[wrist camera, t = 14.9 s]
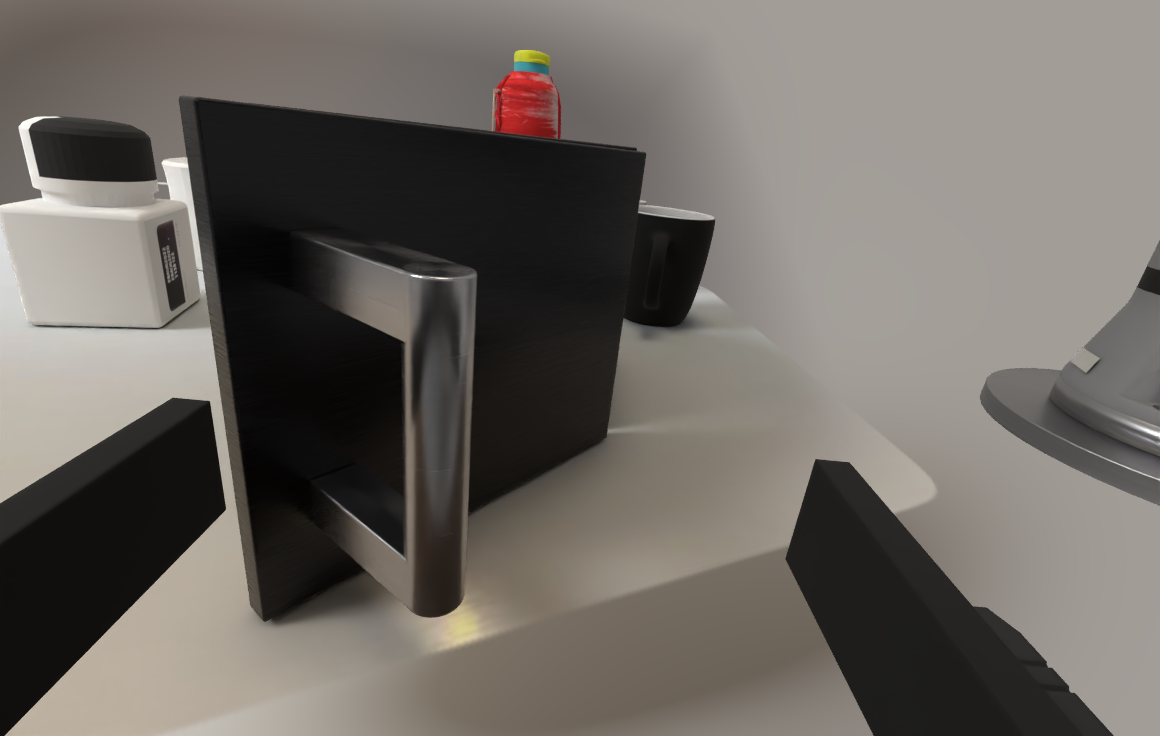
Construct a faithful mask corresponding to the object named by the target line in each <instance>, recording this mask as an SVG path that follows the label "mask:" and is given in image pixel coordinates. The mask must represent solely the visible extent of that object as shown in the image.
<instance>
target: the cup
mask: <svg viewBox="0 0 1160 736" xmlns="http://www.w3.org/2000/svg"><path fill="white" fill-rule="evenodd" d="M162 166H163V168H164V171H165V174H166V179H167V183H168V187H169V193H170V200H176V201H182V202H184V203H185V204H186V205H187V207H188V213H189V220H190V227H191V234H192V240H193V247H194V254H195V261H196V268H197V269H198V270H203V267H202V260H201V253H200V246H199V239H198V232H197V224H196V217H195V210H194V203H193V196H192V189H191V182H190V175H189V168H188V161H187V158H171V159H164V161H163V162H162Z"/></svg>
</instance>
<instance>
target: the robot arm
mask: <svg viewBox="0 0 1160 736" xmlns="http://www.w3.org/2000/svg"><path fill="white" fill-rule="evenodd" d="M1050 398H1051V400H1052V401H1053V403H1054V404H1055V405H1056V406H1057V407H1059V408H1060V409H1061V410H1062V411H1064V412H1065V413H1066V414H1068V415H1069V416H1071V417H1072V418H1074V419H1076V420H1078V421H1079V422H1081V423H1083V424H1085V425H1087V426H1088V427H1090V428H1092V429H1094V430H1096V431H1098V432H1100V433H1102V434H1105V435H1107V436H1109V437H1111V438H1113V439H1116V440H1118V441H1120V442H1123V443H1125V444H1127V445H1130V446H1132V447H1135V448H1137V449H1140V450H1142V451H1145V452H1147V453H1150V454H1152V455H1155V456H1158V457H1160V241H1159V243H1158V245H1157V247H1156V249H1155V251H1154V253H1153V255H1152V257H1151V259H1150V261H1149V263H1148V265H1147V267H1146V270H1145V272H1144V274H1143V276H1142V278H1141V280H1140V282H1139V284H1138V286H1137V288H1136V290H1135V292H1134V294H1133V296H1132V297H1131V299H1130V300H1129V302H1128V303H1127V304H1126V305H1125V306H1124V307H1123V308H1122V309H1121V310H1120V311H1119V312H1118V313H1117V314H1116V315H1115V316H1114V317H1113V318H1112V319H1111V320H1110V321H1109V322H1108V323H1107V324H1106V325H1105V326H1104V327H1103V328H1102V329H1101V330H1100V331H1099V332H1098V333H1097V334H1096V335H1095V336H1094V337H1093V338H1092V339H1091V340H1090V341H1089V342H1088V343H1087V344H1086V345H1085V346H1084V347H1082V348H1081V349H1080V351H1078V353H1077V354H1076V355H1075V356H1074V357H1073V358H1072V359H1071V360H1070V362H1069V363H1067V364H1066V365H1065V367H1064V368H1063V370H1061V371H1060V372H1059V374H1058V377H1057V379H1056V381H1055V383H1054V385H1053V387H1052V390H1051V392H1050ZM225 510H226V506H225V499H224V493H223V486H222V479H221V473H220V466H219V459H218V453H217V446H216V439H215V432H214V426H213V419H212V412H211V406H210V401H201V400H191V399H181V398H172V399H170V400H168V401H167V402H165V403H164V404H162V405H160V406H159V407H157V408H155V409H154V410H152V411H150V412H149V413H147V414H146V415H144V416H142V417H141V418H139V419H137V420H136V421H134V422H133V423H131V424H129V425H128V426H126V427H124V428H123V429H121V430H119V431H118V432H116V433H115V434H113V435H111V436H110V437H108V438H106V439H105V440H103V441H101V442H100V443H98V444H97V445H95V446H93V447H92V448H90V449H88V450H87V451H85V452H84V453H82V454H80V455H79V456H77V457H75V458H74V459H72V460H70V461H69V462H67V463H66V464H64V465H62V466H61V467H59V468H57V469H56V470H54V471H53V472H51V473H49V474H48V475H46V476H44V477H43V478H41V479H39V480H38V481H36V482H35V483H33V484H31V485H30V486H28V487H26V488H25V489H23V490H21V491H20V492H18V493H17V494H15V495H13V496H12V497H10V498H8V499H7V500H5V501H4V502H2V503H0V736H5V735H6V734H7V733H8V732H9V730H10V729H11V728H12V727H13V726H14V725H15V724H16V723H17V722H18V721H19V720H20V719H21V718H22V717H23V716H24V715H25V714H26V713H27V712H28V711H29V710H30V709H31V708H32V707H33V706H34V705H35V704H36V703H37V702H38V701H39V700H40V699H41V698H42V697H43V696H44V695H45V694H46V693H47V692H48V691H49V690H50V689H51V688H52V687H53V686H54V685H55V684H56V683H57V682H58V681H59V679H60V678H61V677H62V676H63V675H64V674H65V673H66V672H67V671H68V670H69V669H70V668H71V667H72V666H73V665H74V664H75V663H76V662H77V661H78V660H79V659H80V658H81V657H82V656H83V655H84V654H85V653H86V652H87V651H88V650H89V649H90V648H91V647H92V646H93V645H94V644H95V643H96V642H97V641H98V640H99V639H100V638H101V637H102V636H103V635H104V634H105V633H106V632H107V631H108V630H109V628H110V627H111V626H112V625H113V624H114V623H115V622H116V621H117V620H118V619H119V618H120V617H121V616H122V615H123V614H124V613H125V612H126V611H127V610H128V609H129V608H130V607H131V606H132V605H133V604H134V603H135V602H136V601H137V600H138V599H139V598H140V597H141V596H142V595H143V594H144V593H145V592H146V591H147V590H148V589H149V588H150V587H151V586H152V585H153V584H154V583H155V582H156V581H157V580H158V579H159V577H160V576H161V575H162V574H163V573H164V572H165V571H166V570H167V569H168V568H169V567H170V566H171V565H172V564H173V563H174V562H175V561H176V560H177V559H178V558H179V557H180V556H181V555H182V554H183V553H184V552H185V551H186V550H187V549H188V548H189V547H190V546H191V545H192V544H193V543H194V542H195V541H196V540H197V539H198V538H199V537H200V536H201V535H202V534H203V533H204V532H205V531H206V530H207V529H208V528H209V526H210V525H211V524H212V523H213V522H214V521H215V520H216V519H217V518H218V517H219V516H220V515H221V514H222V513H223V512H224V511H225ZM786 561H787V563H788V565H789V567H790V569H791V571H792V573H793V575H794V577H795V579H796V581H797V583H798V585H799V587H800V589H801V591H802V593H803V595H804V597H805V599H806V601H807V603H808V605H809V607H810V609H811V611H812V613H813V615H814V617H815V619H816V621H817V623H818V625H819V627H820V629H821V631H822V633H823V635H824V637H825V639H826V641H827V643H828V645H829V647H830V649H831V651H832V653H833V655H834V657H835V659H836V661H837V663H838V665H839V667H840V669H841V671H842V673H843V675H844V677H845V679H846V681H847V683H848V685H849V687H850V689H851V691H852V693H853V695H854V697H855V699H856V701H857V703H858V705H859V707H860V709H861V711H862V713H863V715H864V717H865V719H866V721H867V723H868V725H869V727H870V729H871V731H872V733H873V735H874V736H1113V735H1112V733H1111V732H1110V731H1109V730H1108V729H1107V728H1106V727H1105V726H1104V725H1103V723H1102V722H1101V721H1100V720H1099V719H1098V718H1097V717H1096V716H1095V715H1094V714H1093V712H1092V711H1091V710H1090V709H1089V708H1088V707H1087V706H1086V705H1085V704H1084V703H1083V702H1082V700H1081V699H1080V698H1079V697H1078V696H1077V695H1076V694H1075V693H1071V692H1070V691H1069V686H1068V685H1067V684H1066V683H1065V682H1064V681H1063V679H1061V677H1060V676H1059V675H1058V674H1057V673H1056V672H1055V671H1054V670H1053V668H1048V667H1047V664H1046V663H1047V662H1046V661H1045V660H1044V659H1043V658H1042V656H1041V655H1040V654H1039V653H1038V652H1037V651H1036V650H1035V649H1034V647H1033V646H1032V645H1031V644H1030V643H1029V642H1028V641H1027V640H1026V639H1025V638H1024V636H1022V634H1021V633H1020V632H1018V631H1017V630H1016V629H1014V628H1013V627H1012V626H1010V625H1009V624H1008V623H1006V622H1005V621H1004V620H1002V619H1001V618H1000V617H998V616H997V615H996V614H994V613H993V612H992V611H990V610H989V609H988V608H985V607H973V606H972V605H971V604H970V603H969V602H968V600H967V599H966V598H965V597H964V596H963V595H962V593H961V592H960V591H959V590H958V589H957V588H956V586H954V584H953V583H952V582H951V581H950V579H949V578H948V577H947V576H946V575H945V574H944V572H943V571H942V570H941V569H940V568H939V567H938V565H937V564H936V563H935V562H934V561H933V560H932V558H931V557H930V556H929V555H928V554H927V553H926V551H925V550H924V549H923V548H922V547H921V545H920V544H919V543H918V542H917V541H916V540H915V539H914V537H913V536H912V535H911V534H910V533H909V532H908V530H907V529H906V528H905V527H904V526H903V524H901V522H900V521H899V520H898V519H897V517H896V516H895V515H894V514H893V513H892V512H891V510H890V509H889V508H888V507H887V506H886V505H885V503H884V502H883V501H882V500H881V499H880V498H879V496H878V495H877V494H876V493H875V492H874V491H873V489H872V488H871V487H870V486H869V485H868V484H867V482H866V481H865V480H864V479H863V478H862V477H861V475H860V474H859V473H858V472H857V471H856V470H855V468H854V467H853V466H852V465H851V464H850V463H849V462H839V461H829V460H818V459H816V460H815V463H814V466H813V469H812V473H811V476H810V479H809V483H808V486H807V489H806V493H805V496H804V499H803V503H802V506H801V509H800V513H799V516H798V519H797V522H796V526H795V529H794V532H793V536H792V539H791V542H790V546H789V549H788V552H787V556H786Z"/></svg>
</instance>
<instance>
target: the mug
mask: <svg viewBox="0 0 1160 736" xmlns="http://www.w3.org/2000/svg"><path fill="white" fill-rule="evenodd" d="M714 225H715V218H714V217H713V216H710V215H706V214H703V213H698V212H693V211H687V210H681V209H674V208H666V207H657V206H647V205H639V209H638V216H637V224H636V231H635V238H634V245H633V252H632V259H631V266H630V273H629V280H628V287H627V295H626V302H625V309H624V316H623V317H624V318H626V319H628V320H631V321H634V322H637V323H641V324H646V325H653V326H672V325H677V324H679V323H681V322H682V321H683V320H684V318H685V317H686V315H687V314H688V312H689V310H690V308H691V306H692V303H693V301H694V298H695V296H696V293H697V290H698V287H699V284H700V281H701V278H702V274H703V271H704V267H705V264H706V260H707V256H708V252H709V249H710V244H711V240H712V236H713V231H714Z"/></svg>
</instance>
